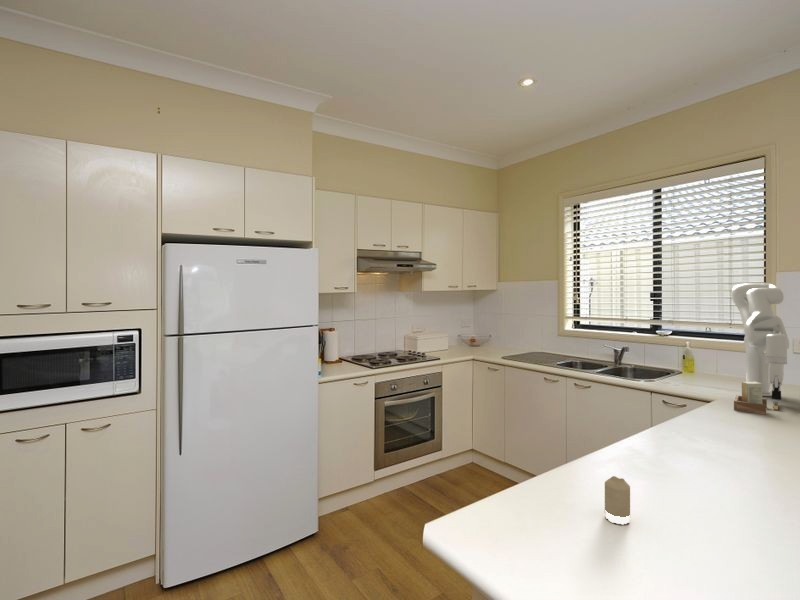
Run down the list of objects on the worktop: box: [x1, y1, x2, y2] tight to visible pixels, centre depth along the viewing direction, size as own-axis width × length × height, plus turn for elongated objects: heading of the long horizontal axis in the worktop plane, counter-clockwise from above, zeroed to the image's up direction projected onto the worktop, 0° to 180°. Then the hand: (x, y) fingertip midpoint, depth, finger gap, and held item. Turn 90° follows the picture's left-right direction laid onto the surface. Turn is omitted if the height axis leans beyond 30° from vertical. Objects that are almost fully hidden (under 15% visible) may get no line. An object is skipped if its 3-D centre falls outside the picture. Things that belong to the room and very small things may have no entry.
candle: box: [604, 475, 631, 517], centre depth 103 cm, size 6×6×10 cm
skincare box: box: [741, 381, 763, 404], centre depth 192 cm, size 6×4×12 cm
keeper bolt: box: [772, 401, 779, 410], centre depth 193 cm, size 9×2×3 cm, turn 138°
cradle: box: [733, 395, 768, 415], centre depth 192 cm, size 13×11×4 cm
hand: (776, 399), depth 199 cm, fingers closed
